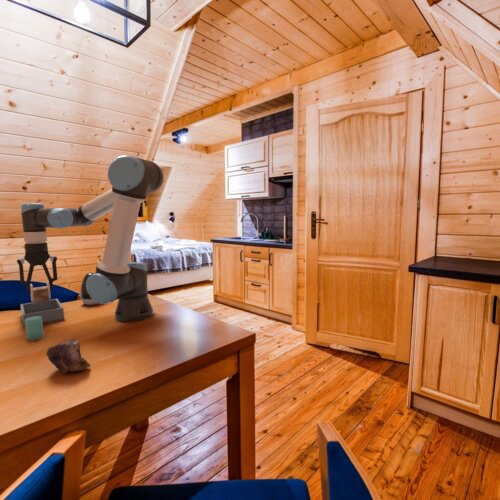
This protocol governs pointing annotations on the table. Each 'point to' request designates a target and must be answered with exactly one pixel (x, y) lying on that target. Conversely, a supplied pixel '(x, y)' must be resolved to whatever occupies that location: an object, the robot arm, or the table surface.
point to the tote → (43, 311)
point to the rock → (67, 356)
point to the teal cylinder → (34, 328)
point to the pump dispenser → (84, 294)
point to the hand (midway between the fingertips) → (41, 299)
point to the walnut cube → (40, 294)
